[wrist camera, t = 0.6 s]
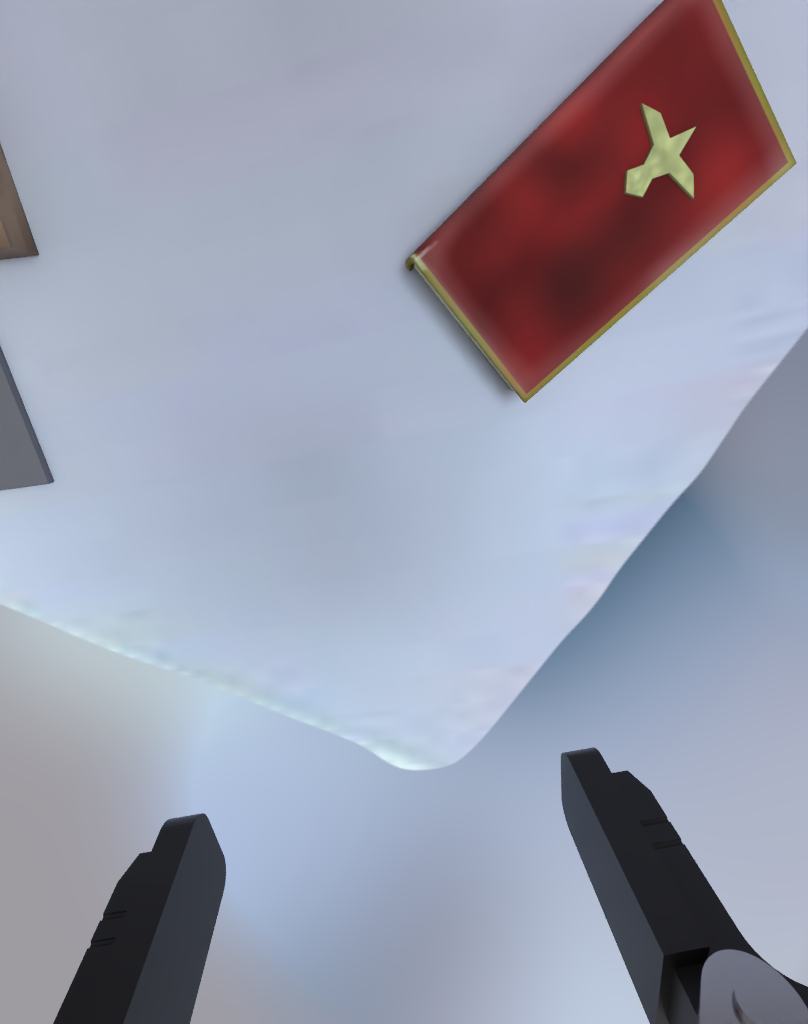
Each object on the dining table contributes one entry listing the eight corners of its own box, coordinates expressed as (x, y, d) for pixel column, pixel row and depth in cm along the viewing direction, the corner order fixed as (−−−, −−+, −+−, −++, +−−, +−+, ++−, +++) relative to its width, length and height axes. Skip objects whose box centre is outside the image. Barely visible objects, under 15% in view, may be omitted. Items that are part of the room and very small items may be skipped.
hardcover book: (403, 265, 32) (409, 253, 28) (657, 10, 28) (705, -47, 24) (508, 397, 35) (526, 403, 31) (746, 185, 32) (800, 161, 28)
